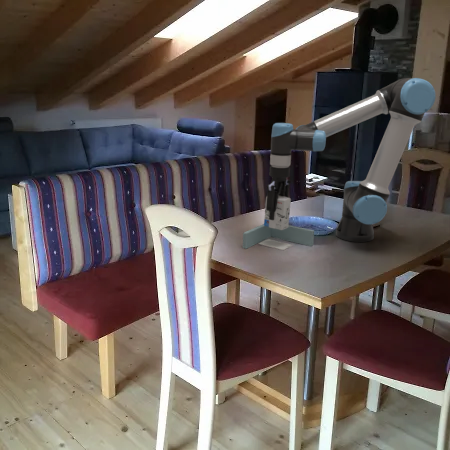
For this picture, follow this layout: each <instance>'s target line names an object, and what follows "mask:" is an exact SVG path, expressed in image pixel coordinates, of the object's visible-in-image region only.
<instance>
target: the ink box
mask: <svg viewBox="0 0 450 450" xmlns="http://www.w3.org/2000/svg"><path fill="white" fill-rule="evenodd" d="M291 201H292V199H291V198H290V197H289V198H288V197H283V196H278V200H277V207H276V212H277V219H276V228H275V229H279V230H284V229H286V228H288V226H289V225H290V213H291V203H292V202H291ZM266 205H267V195H266V197H265V205H264V206H265V209H264V219H263V220H264V221H263V224H264V226H268V227H269V215H270V211H267V210H266Z"/></svg>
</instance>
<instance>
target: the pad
mask: <svg viewBox="0 0 450 450" xmlns="http://www.w3.org/2000/svg"><path fill="white" fill-rule="evenodd" d="M258 245H261V246H264V247H269V248H273V249H276V250H279V251H280V250H281V251H285V250H287V249H289V248H291V247H292V246H293V244H291V243H287V242H283V241H277V240H274V239H270V238H268V239H266V240H263V241H261V242H259V243H258Z"/></svg>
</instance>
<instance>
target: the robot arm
mask: <svg viewBox="0 0 450 450" xmlns="http://www.w3.org/2000/svg"><path fill="white" fill-rule="evenodd" d="M436 96H437V95H436V90H435V88H434V86H433V85H432V84H431V82H429V80H425V79H423V78H419V77H414V78H411V77H404V78H401V79H398V80H396V81H394V82H392V83H390V84H389V85H387V86H384V87H382V88H380V89H378V90H376V92H375V93H374V94H372V95H371V96H368V97H366V98H364V99H362V100H359V101H357V102H355V103H353V104H350V105H347V106H346V107H344V108H342V109H339V110H336V111H334V112H332V113H330V114H328V115H325V116H323V117H321V118H319V119H316V120H313V121H312V122H309V123H306V124H301V125H299V126H297V127H296V128H294V125H293V124H292V123H288V122H287V123H285V122H275V123H273V125H272V129H271V135H270V136H271V138H270V156H269V157H270V160H269V165H270V166H269V173H268V174H269V176H270V177H271V178H272V179H271V182H270V184H267V185H266V189H267V190H266V191H267V193H266V196H267V205H266V204H265V205H266V210H267V211H270V215H269V227H270V228H274V229H275V228H276V219H277V212H276V207H277V200H278V196H283V197H288V198H290V185H291V180H290V179H287V178H289V177H290V173H291V167H290V166H291V163H292V161H291V160H292V151H307V152H314V153H315V152H323V151H324V150H325V147H326V141H327V138H328V137H330V136H332V135H334V134H336V133H339V132H342V131H344V130H346V129H348V128H349V129H350V128H351V127H353V126H356V125H358V124H360V123H362V122H365V121H367V120H369V119H373V118H374V117H377V116H379V115H381V114H383V115H390V120H389V122H388V124H387V127H386V129H385V131H384V134H383V137H382V139H381V141H380V143H379V146H378V149H377V151H376V152H375V153H376V154H375V157H374V159H373V161H372V164H371V166H370V168H369V171H368V173H367V175H366V178H365V179H364V180H348V181H346V182H345V184H344V188H343V190H344V191H343V202H342V209H341V210H342V211H341V212H342V213H341V217H340V220H339V223H338V224H337V227H336V228H335V229H336V230H335V236H336V237H337V238H339V239H341V240H344V241H348V242H354V243H365V242H371V241H373V240H374V238H375V232H374V231H375V230H374V226H373V225H375V224H378V223H379V222H380V221H382V220H383V219H384V218H385V216H386V215H387V212H388V205H387V201H388V199H389V197H390V195H391V192H390V190H389V186H390V184H391V181H392V179H393V177H394V175H395V172H396V170H397V168H398V165H399V162H400V161H401V158H402V156H403V153H404V151H405V148H406V146H407V145H408V142H409V140H410V137H411V134H412V132H413V130H414V129H415V128H414V127H415V126H416V125H418V124H420V123H422V120H423V118H424V116H425V113H427V112H429V110H431V109H432V108H433V106H434V104H435V101H436Z"/></svg>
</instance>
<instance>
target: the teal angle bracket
mask: <svg viewBox="0 0 450 450" xmlns="http://www.w3.org/2000/svg"><path fill="white" fill-rule="evenodd" d="M270 238H275V239H279V240H283V241H287V242H291V243H296V244H300V245H303V246H309V247H313V246H314V239H315V230H314V229H308V228H305V227H301V226H295V225H291V224H289V226H288V228H286V229H284V230H279V229H274V228H270V227H268V226H264V223H263V224H260V225H258V226H255V227H254V228H251V229H249V230H247V231H244V232H243V233H242V249H248V248H251V247H253V246H255V245H257V244H259V243H261V242H263V241H265V240H267V239H270Z"/></svg>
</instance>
